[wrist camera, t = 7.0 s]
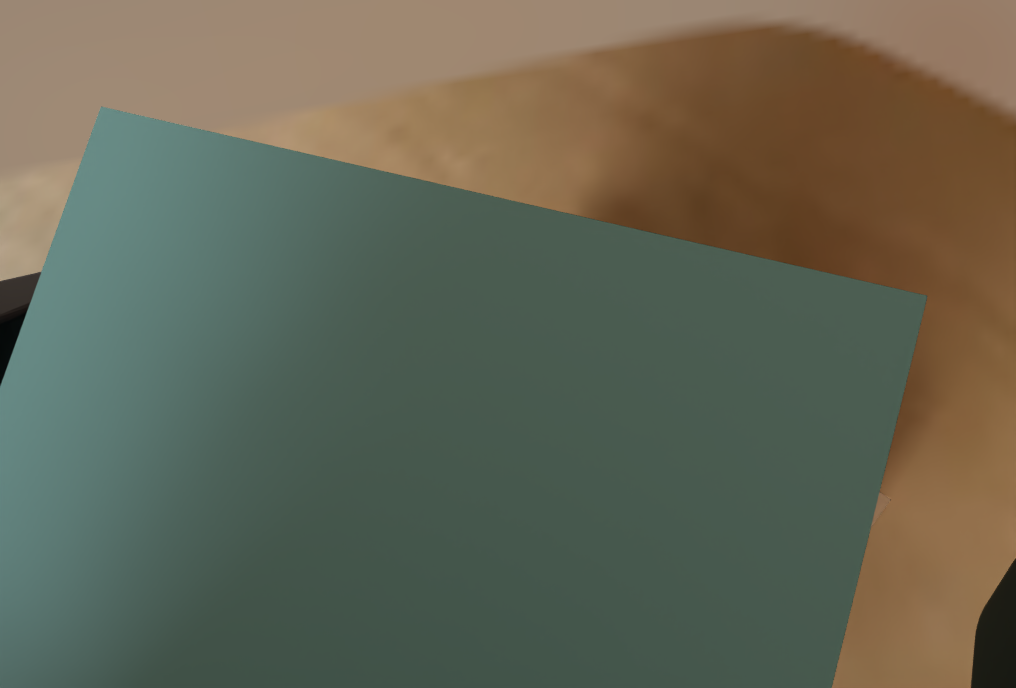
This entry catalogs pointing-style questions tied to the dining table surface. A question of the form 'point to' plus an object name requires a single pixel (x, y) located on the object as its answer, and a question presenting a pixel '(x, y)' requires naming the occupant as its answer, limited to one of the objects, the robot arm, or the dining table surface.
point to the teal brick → (424, 438)
